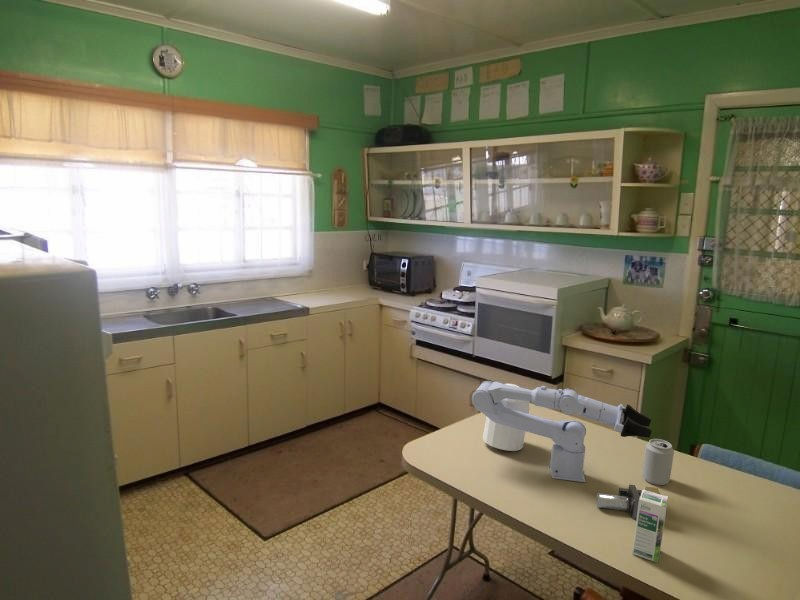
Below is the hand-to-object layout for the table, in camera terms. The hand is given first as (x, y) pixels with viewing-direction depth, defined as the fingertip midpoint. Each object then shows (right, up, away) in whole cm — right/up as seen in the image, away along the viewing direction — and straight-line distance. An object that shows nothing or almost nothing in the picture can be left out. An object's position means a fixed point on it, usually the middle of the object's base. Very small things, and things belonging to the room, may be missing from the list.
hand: (650, 428), depth 151 cm
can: (+6, -18, +10) cm, 22 cm away
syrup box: (-11, -24, -23) cm, 35 cm away
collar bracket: (-5, -21, -5) cm, 22 cm away
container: (-36, -12, +29) cm, 48 cm away
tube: (-11, -21, -6) cm, 24 cm away
